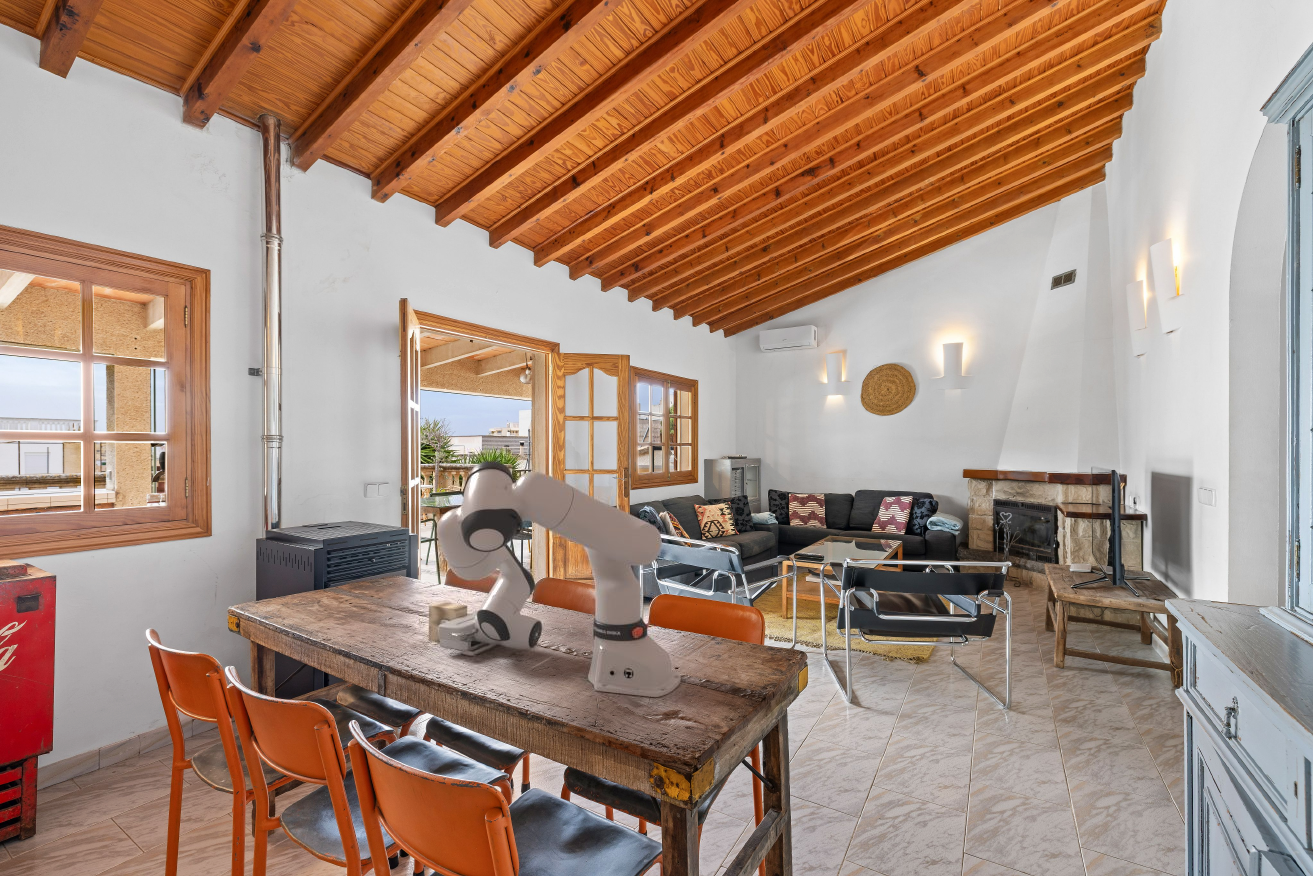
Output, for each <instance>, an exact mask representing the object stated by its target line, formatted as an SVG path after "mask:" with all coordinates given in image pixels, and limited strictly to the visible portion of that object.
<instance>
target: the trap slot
mask: <svg viewBox="0 0 1313 876" xmlns="http://www.w3.org/2000/svg"><path fill="white" fill-rule="evenodd" d="M499 645H501V644H499ZM499 645H492V644H487V643H481V642H479V643H478V644H476V645H473V646H471V648H468V649H466V650H464V651H462V650H461V651H462V654H461V655H463V656H465V657H476V656H477V655H480V654H481V653H484V652H487V651H489V650H491V649H493V648H495V647H498V646H499Z"/></svg>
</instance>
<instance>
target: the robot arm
mask: <svg viewBox="0 0 1313 876" xmlns="http://www.w3.org/2000/svg"><path fill="white" fill-rule="evenodd" d="M467 475H468V476H467V478H466V480H465V483H464V487H463V489H462V493H461V496H462V497H463V498H462V504H461V505H460V506H459V507H456V508H452V509H451V510H448V511H447V512H445V513H444V514H443V515H442V516H441V517H440V519H439V520H438V523H437V525H436V536H437V540H438V543H439V548H440V550H441V552H442V555H443V557H444V559H445V560H446V563H447V565H448V567H449V568H450V570H451V571H452V573H454V574H455V575H456V576H457V577H458V578H460V579H462V580H467V581H478V580H482V579H484V578H487V577H489V576H490V575H492V573H494V572H495V571H496V570H497V569H498V570H499V575H498V578H497V579H496V581H495V583H494V585H493V586H492V587H491V589H490V590H489V593H488V594H487V596H486V597H485V599H484V600H483V602H482V604H481V605H480V607H479V609H478V610H477V611H475V612H471V613H467V615H465V616H463V617H460V618H457V619H454V620H451V621H449V619H444V620H441V624H440V625H439V628H438V636H439V638H440V639H445V640H455V641H459V640H464V639H466V638H469V637H471V636H475V639H476V640H477V641H476V642H478V643H487V644H492V645H498V646H499V644H500V645H501V646H503V647H504V648H508V649H509V648H510V649H516V650H530V649H533V648H534V647H535V646H537V644H538V642H539V640H540V638H541V636H542V632H543V624H542V621H541V620H539V619H537V618H535V617H532V616H530V615H529V616H528V615H524V614H522V613H521V611H522V609H524V606H525V605H526V602H527V601H528V599H529V598H530V597H531V595H532V594H533V592H534V591H535V589H536V581H535V579H534V577H533V576H534V575H533V574H532V573H531V572H530V571H529V570H528V569H527V568H525V566H524V565H523V564H522V563H521V561H520V559H518V557H517V556H516V554H515V552H513V550H512V549H511V548H510V546H509V545H508V544H509V543H510V542H511V540H512V539H513V537H515V536H516V535H519V534H520V533H521V532H522V530H523V526H524V523H523V522H531V523H534V524H536V525H538V526H540V527H542V528H544V529H546V530H548V531H550V532H551V533H554V534H556V535H558V536H560V537H562V538H564V539H567V540H568V541H571V542H572V543H575V544H578V545H580V546H582V547H583V549H584V551H585V552H586V554H587V557H588V561H589V565H590V568H591V572H592V577H593V581H594V589H595V590H594V593H595V594H594V595H595V608H594V609H595V612H594V613H595V614H594V615H595V617H594V618H593V623H592V624H593V627H592V628H593V630H592V632H593V633H592V635H593V640H594V641H593V642H594V643H593V649H592V650H593V651H592V657H591V663H590V667H589V671H588V675H587V680H588V681H589V682H590V683H591V684H592V685H593V686H594V687H593V688H594V690H595V691H597V692H603V693H604V692H605V693H614V694H624V695H632V696H640V697H641V696H642V697H652V698H658V697H662V696H665V695H668V694H670V693H671V692H673V691H674V690H675V689H677V688H678V687H679V685H680V684H681V683H682V678H681V673H679V672H678V671H676V670H675V671H674V670H672V663H671V662H672V661H671V657H670V655H669V654H670V653H668V652H667V651H666V649H664V648H663V647H662V646H661V645H659V644H658V642H656V641H655V640H654V639H653V638H652V637H651V636H650V635H649V634H648V629H649V628H650V627H651V625H650V624H651V621H648V622H645V621H644V619H643V617H642V588H641V584H640V582H639V580H638V579H637V577H636V576H635V574H634V571H633V569H632V566H646V565H650V564H652V563H653V562H654V561H655V560H656V559H657V558H658V557H659V554H660V552H661V550H662V543H663V542H662V541H663V540H662V536H661V535H662V534H661V533H660V531H659V530H658V528H657V527H656V526H655V525H653V524H651V523H649V522H647V521H645V520H643V519H642V518H641V519H640V518H638V517H637V516H634V515H632V514H630V513H629V512H628V513H627V512H626V511H623V510H621V509H619V508H617V507H615V506H612V505H610V504H608V503H605V502H603V501H600V500H598V499H596V498H594V497H592V496H590V495H588V494H587V493H585V492H583V491H582V490H579V489H578V488H575V487H574V486H572V485H570V484H569V483H566V482H565V481H563V480H560V479H558V478H556V477H553V476H551V475H548V474H545V473H543V472H542V473H541V472H538V471H529V472H526V473H524V474H522V475H521V476H520V477H519V478H518V479H517V480H516V481H515V480H514V477H513V473H512V471H511V470H510V468H509V467H508V466H507V465H505V464H504V463H502V462H499V461H495V460H487V461H482V462H480V463H477V464H476V465H474V466H473V468H472V469H471V470H470V472H469V473H468V474H467Z"/></svg>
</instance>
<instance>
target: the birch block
mask: <svg viewBox="0 0 1313 876" xmlns="http://www.w3.org/2000/svg"><path fill="white" fill-rule="evenodd" d="M467 614H468V605H466V604H460V603H452V602H447V601H446V602H445V601H438V602H435V603H431V604H429V605H428V641H430V642H434V643H439V644H440V638H439V636H438V628H439V625H440V624H441V620H444V619H449V621H451V620H454V619H457V618H460V617H463V616H465V615H467ZM464 640H467V638H466V639H464Z"/></svg>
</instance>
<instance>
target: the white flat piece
mask: <svg viewBox="0 0 1313 876" xmlns="http://www.w3.org/2000/svg"><path fill="white" fill-rule="evenodd" d="M472 641H473V642H478V641H477V640H476V639H475V636H471V637H469V638H467V640H459V641H455V640H445V639H440V643H439V647H443V648H449V649H452V650H453V649H454V650H458V651H464V650H466V649H468V648H471V647H472Z"/></svg>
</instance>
